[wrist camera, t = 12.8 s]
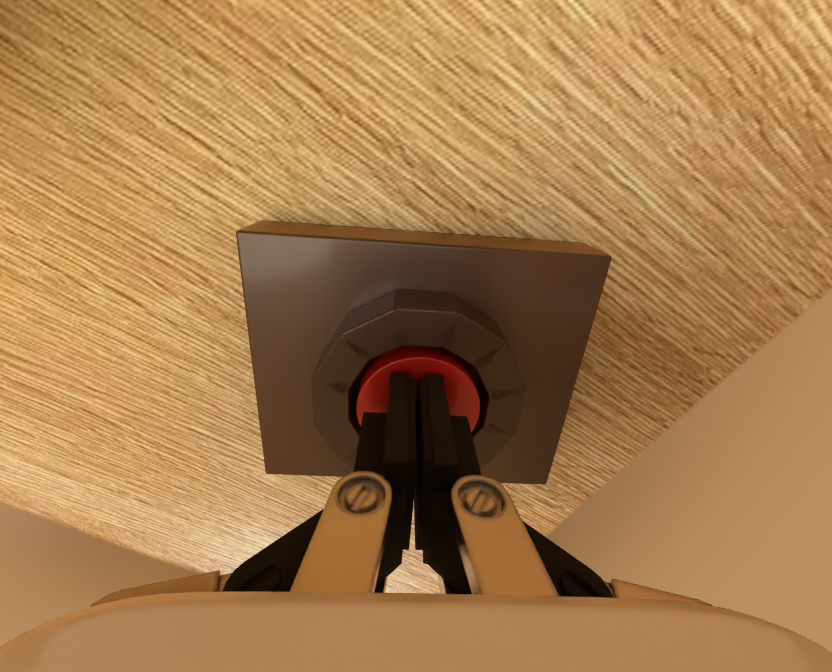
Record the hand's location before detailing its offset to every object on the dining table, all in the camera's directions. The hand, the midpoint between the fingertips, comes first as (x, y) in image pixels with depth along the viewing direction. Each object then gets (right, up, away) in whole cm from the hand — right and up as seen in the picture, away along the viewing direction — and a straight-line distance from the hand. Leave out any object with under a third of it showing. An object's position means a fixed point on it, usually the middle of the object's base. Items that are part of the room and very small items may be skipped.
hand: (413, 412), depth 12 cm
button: (0, +1, +2) cm, 2 cm away
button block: (0, +2, +4) cm, 4 cm away
